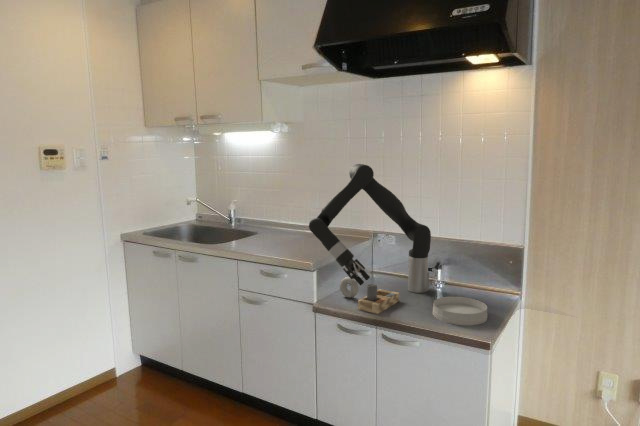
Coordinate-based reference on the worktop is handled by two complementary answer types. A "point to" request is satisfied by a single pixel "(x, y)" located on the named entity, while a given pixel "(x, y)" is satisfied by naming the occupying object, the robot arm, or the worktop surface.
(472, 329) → the worktop surface
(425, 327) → the worktop surface
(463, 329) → the worktop surface
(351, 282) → the donut
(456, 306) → the dish
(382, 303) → the socket board
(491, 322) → the worktop surface
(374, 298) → the plug
